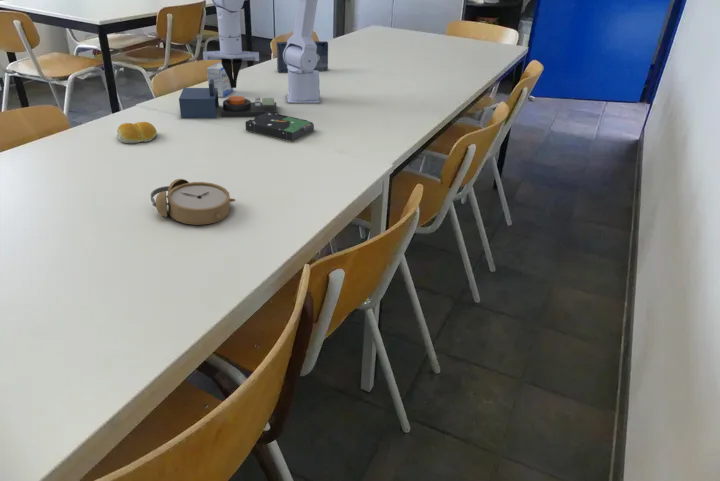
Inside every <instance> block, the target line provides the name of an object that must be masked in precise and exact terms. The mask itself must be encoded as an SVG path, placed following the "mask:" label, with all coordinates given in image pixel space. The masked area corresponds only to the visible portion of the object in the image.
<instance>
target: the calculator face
mask: <svg viewBox="0 0 720 481" xmlns="http://www.w3.org/2000/svg"><path fill="white" fill-rule="evenodd" d="M254 102H255V106H260V102H262V105H275V104H274V102H275V97H262V98H261V96H255V98H254Z"/></svg>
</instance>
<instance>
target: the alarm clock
mask: <svg viewBox="0 0 720 481" xmlns="http://www.w3.org/2000/svg"><path fill="white" fill-rule="evenodd" d="M149 196H150V201H151V203H152V207H154V208H155V209H156V211H157V214H159V215H160V216H162V217H168V214H169V216H170V217H171V218H172V219H174V220H176V222H180V223H183V224H187V225H195V226H200V225H209V224H215V223H218V222H220V221H222V220H224V219H225V218H227V217H228V216H229V214H230V213H231V212H230V211H231V208H230V205H231V204H230V203H232V202H236V199H235V198H231V196H230V192H229V191H228V189H226V188H225V187H223V186H221V185H219V184H216V183H212V182H207V181H204V182H203V181H191V182H189V181H188V180H187V179H184V178H177V179H175V180H173V181H172V182H170V184H169V185H168V186H167V185H166V186H161V187H160V186H159V187H157V188H155V189H153V190H152V191H151V192H150V195H149ZM155 196H156V197H155ZM154 197H155V198H154Z"/></svg>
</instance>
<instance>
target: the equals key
mask: <svg viewBox="0 0 720 481" xmlns="http://www.w3.org/2000/svg"><path fill="white" fill-rule="evenodd" d="M227 99H228V102H229V104H233V105H240V104H244V103H245V99H246V97H245V96H241V95H233V96H229V97H228V98H227Z"/></svg>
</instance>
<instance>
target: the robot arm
mask: <svg viewBox="0 0 720 481" xmlns="http://www.w3.org/2000/svg"><path fill="white" fill-rule="evenodd" d="M211 2H212V4H213V5H214V7H215V8H216V15H217V28H218V42H219V50H209V51H207V50H206V51H203V52H202V56H203V61H221V62H222V63H221V64H222V66H223V68H224V70H225V72H226V74H227V76H228V78H229V81H230V85H231V88H233V89H236V88H237V81H238V76H239V73H240V70H241V67H242V64H243V61H255V62H260V52H259V51H247V50H243V46H242V45H243V44H242V43H243V42H242V28H241V15H240V14H241V13H240V10H241V9H242V8H243V7H244V2H245V0H211ZM317 6H318V0H297V4H296V10H295V17H294V18H295V19H294V27H293V33H292V35H291V36H290V37H289V38H288V39H287V41H286V42H287V46H286V48H285V49H284V52H283V60H284V62H285V63H286V64H287V68H288V72H287V79H288V80H287V82H288V84H287V86H288V87H287V88H288V93H287V94H286V97H287V103H288V104H319V103H320V94H321V90H320V71H317V70H313V69H314V68H315V67H316V65H317V54H316V50H317V46H316V44H315V42H316V41H315V40H314V39H313V33H314V28H315V21H316V19H315V18H316V15H317V14H316V13H317ZM300 46H301V47H300Z"/></svg>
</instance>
